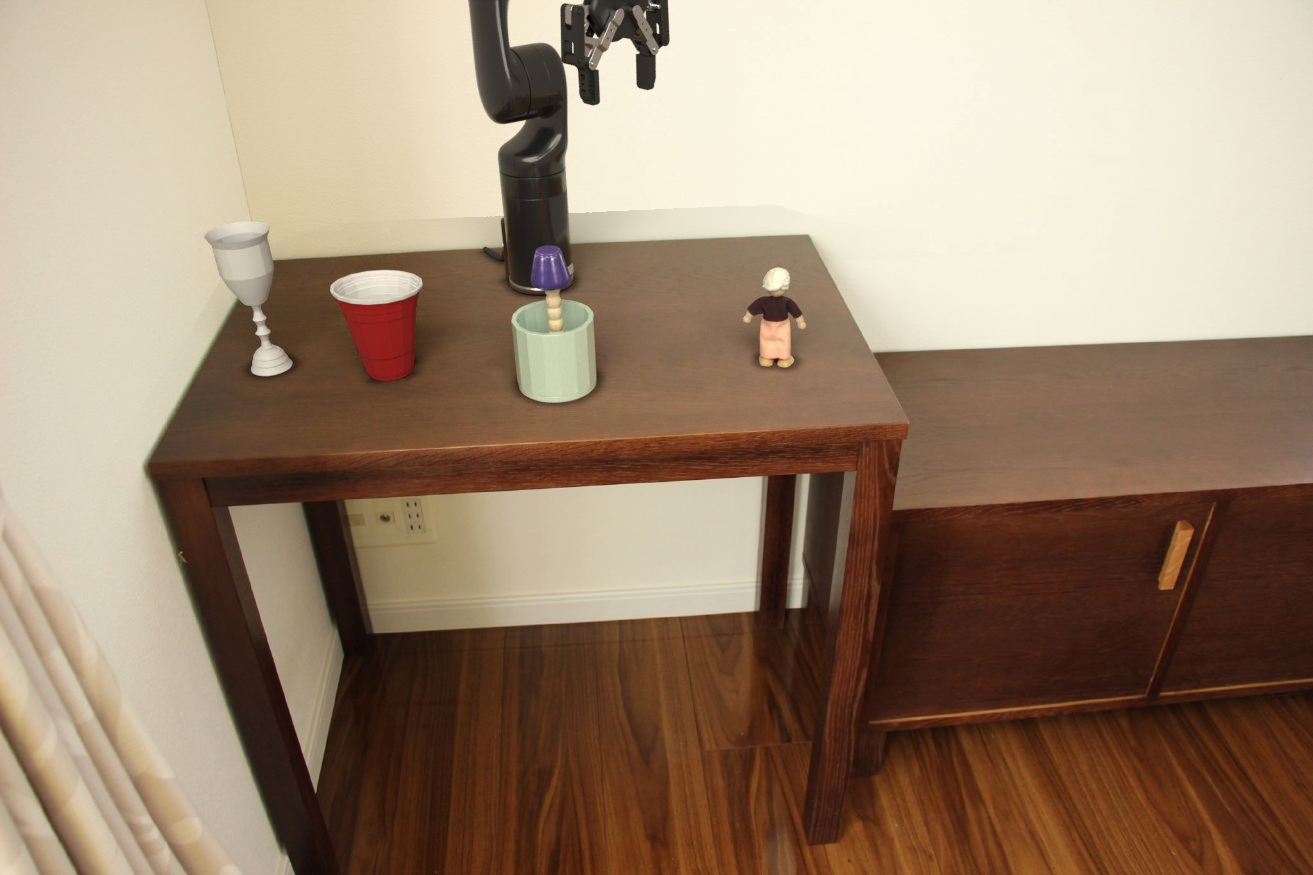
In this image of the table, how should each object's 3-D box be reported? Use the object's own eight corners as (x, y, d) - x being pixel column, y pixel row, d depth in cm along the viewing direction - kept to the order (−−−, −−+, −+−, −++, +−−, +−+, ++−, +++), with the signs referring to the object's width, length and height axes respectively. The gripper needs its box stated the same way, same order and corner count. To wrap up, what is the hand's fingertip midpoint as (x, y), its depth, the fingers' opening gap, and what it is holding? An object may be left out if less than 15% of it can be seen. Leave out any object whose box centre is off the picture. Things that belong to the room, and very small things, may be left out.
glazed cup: (502, 383, 121) (495, 317, 116) (561, 356, 127) (556, 292, 122) (554, 411, 116) (548, 343, 111) (612, 381, 121) (610, 315, 116)
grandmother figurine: (800, 354, 127) (807, 262, 120) (803, 368, 124) (811, 275, 117) (740, 354, 127) (744, 262, 120) (742, 369, 124) (746, 275, 117)
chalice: (245, 384, 122) (207, 247, 112) (237, 361, 127) (200, 228, 117) (306, 370, 125) (274, 235, 115) (296, 348, 130) (264, 217, 120)
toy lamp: (571, 388, 119) (562, 258, 109) (534, 384, 119) (522, 255, 110) (581, 369, 122) (574, 242, 113) (545, 365, 123) (535, 239, 114)
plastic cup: (451, 356, 127) (438, 269, 121) (406, 396, 119) (391, 306, 112) (378, 344, 130) (362, 259, 124) (330, 383, 122) (310, 294, 115)
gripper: (636, -74, 108) (639, 79, 117) (537, -61, 100) (548, 103, 109) (686, -69, 104) (686, 89, 113) (587, -55, 96) (595, 115, 104)
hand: (618, 96), depth 111 cm, fingers open, 8 cm apart
